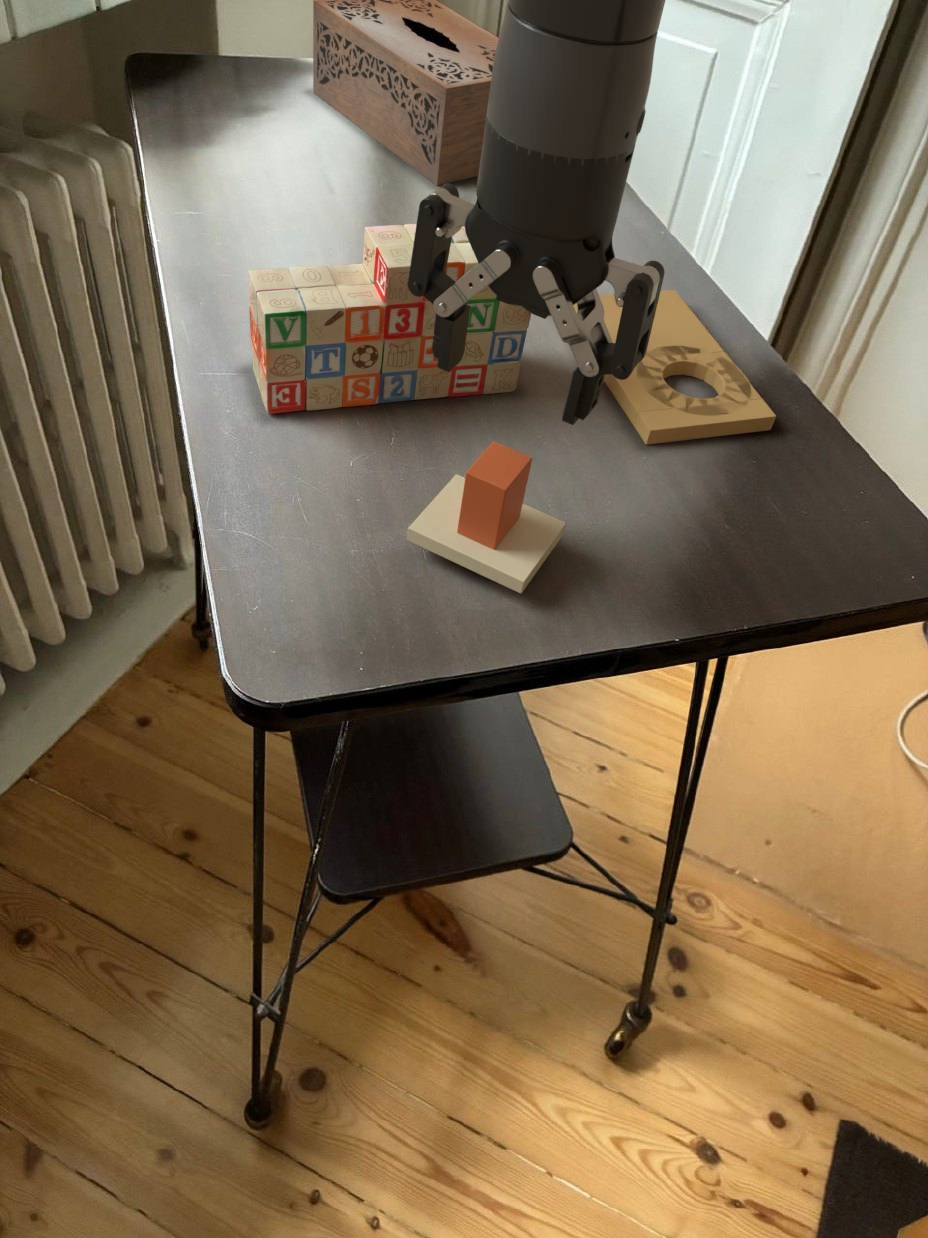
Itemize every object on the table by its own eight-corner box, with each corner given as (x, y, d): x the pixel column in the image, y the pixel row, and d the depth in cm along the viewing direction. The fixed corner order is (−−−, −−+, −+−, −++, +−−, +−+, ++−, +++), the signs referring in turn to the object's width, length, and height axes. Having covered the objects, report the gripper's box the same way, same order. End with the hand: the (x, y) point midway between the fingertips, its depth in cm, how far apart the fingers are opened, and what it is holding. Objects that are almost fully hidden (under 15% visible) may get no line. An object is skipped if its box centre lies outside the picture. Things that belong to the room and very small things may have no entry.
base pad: (771, 430, 85) (778, 415, 84) (645, 444, 81) (650, 430, 80) (672, 302, 97) (676, 289, 96) (558, 311, 93) (561, 297, 92)
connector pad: (559, 547, 72) (582, 462, 66) (518, 606, 68) (538, 521, 62) (452, 499, 74) (465, 412, 68) (405, 553, 70) (414, 466, 64)
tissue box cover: (313, 92, 119) (313, -1, 112) (410, 76, 126) (416, -12, 119) (436, 185, 107) (446, 88, 100) (537, 162, 114) (553, 69, 106)
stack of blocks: (266, 417, 78) (260, 274, 69) (251, 371, 82) (244, 229, 72) (517, 391, 84) (542, 257, 75) (493, 349, 88) (514, 216, 79)
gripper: (399, 95, 48) (379, 376, 60) (671, 192, 44) (592, 468, 56) (471, 54, 52) (439, 322, 64) (722, 138, 49) (639, 404, 61)
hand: (511, 390), depth 60 cm, fingers open, 8 cm apart
